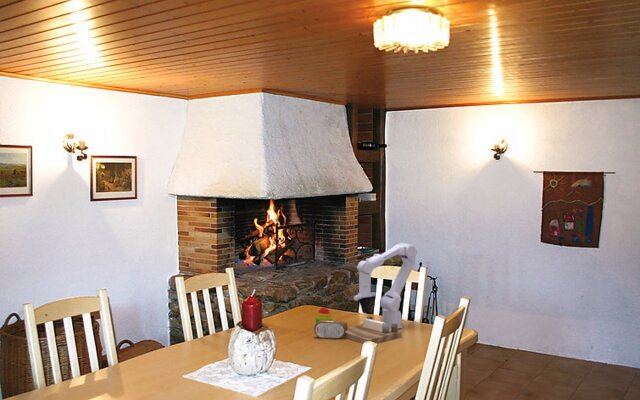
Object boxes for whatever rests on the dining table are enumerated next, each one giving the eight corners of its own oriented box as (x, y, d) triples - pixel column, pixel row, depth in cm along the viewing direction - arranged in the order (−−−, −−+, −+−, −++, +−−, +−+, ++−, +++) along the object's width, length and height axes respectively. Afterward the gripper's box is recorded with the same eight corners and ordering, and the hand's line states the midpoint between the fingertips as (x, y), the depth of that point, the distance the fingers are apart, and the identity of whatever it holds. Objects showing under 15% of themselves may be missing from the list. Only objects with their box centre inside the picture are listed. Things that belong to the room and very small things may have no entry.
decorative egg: (312, 327, 298) (312, 308, 298) (321, 324, 305) (321, 305, 305) (326, 330, 294) (326, 310, 293) (334, 326, 301) (334, 307, 300)
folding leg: (390, 332, 281) (390, 323, 280) (386, 333, 278) (386, 324, 278) (366, 326, 291) (366, 318, 291) (362, 327, 289) (362, 319, 288)
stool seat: (369, 327, 299) (369, 315, 299) (401, 337, 282) (401, 324, 282) (336, 334, 285) (337, 322, 285) (368, 345, 268) (368, 332, 268)
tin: (345, 337, 281) (346, 320, 280) (345, 339, 278) (345, 322, 277) (314, 336, 282) (314, 319, 282) (313, 338, 279) (313, 321, 279)
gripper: (368, 282, 299) (368, 308, 299) (349, 286, 288) (348, 313, 289) (379, 284, 294) (378, 311, 294) (360, 288, 283) (359, 316, 284)
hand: (364, 312), depth 291 cm, fingers closed
